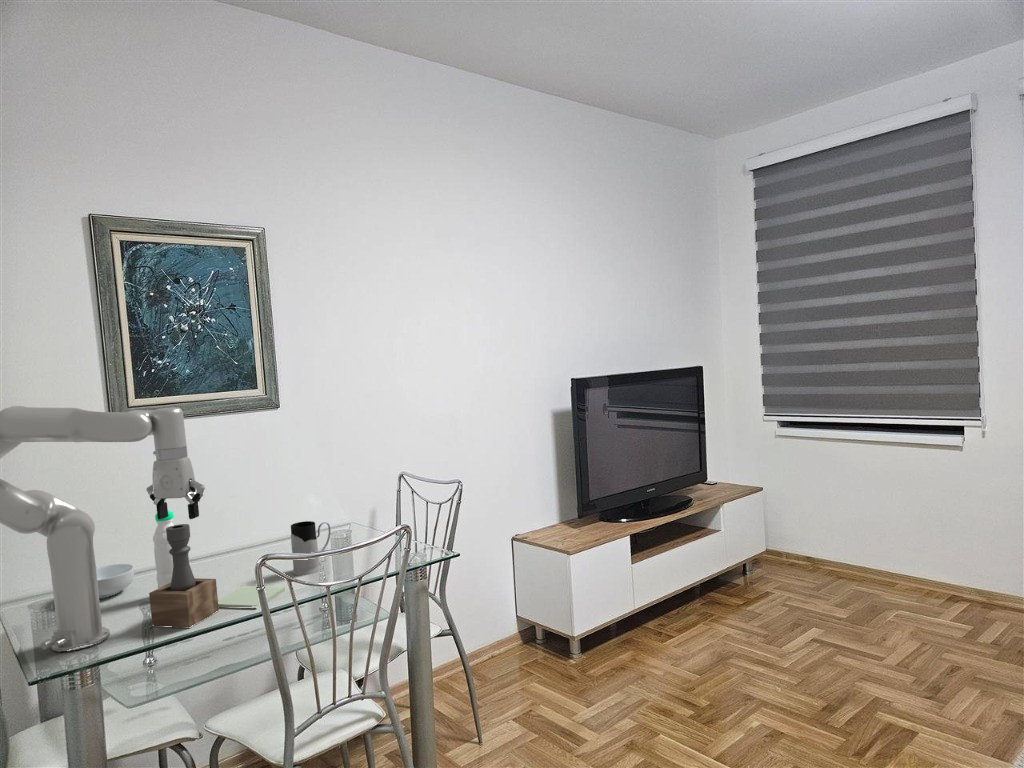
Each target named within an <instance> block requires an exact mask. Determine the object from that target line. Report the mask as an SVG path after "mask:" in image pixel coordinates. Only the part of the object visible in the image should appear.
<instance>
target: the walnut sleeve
mask: <svg viewBox="0 0 1024 768" xmlns="http://www.w3.org/2000/svg"><path fill="white" fill-rule="evenodd" d="M194 578H195V577H194ZM195 582H196V584H195V587H193V588H191V589H189V590H187V591H171V587H170V586H171V583H169V584H167V585H165V586H163V587H161V588H158V587H157V589H155V590H153V591H151V592H148V596H149V606H150V607H149V608H150V615H151V616H150V617H151V625H152V624H153V625H154V626H172V627H191V626H192V625H194V624H196V623H198V622H200V621H201V622H203V621H205V620H206V619H208V618H210V617H211V616H213V615H214V614H213V613H215V612H216V611H218V610H220V608H218V600H219V599H218V597H219V596H218V590H217V589H218V588H217V579H216V578H195ZM218 612H219V611H218ZM216 613H217V612H216ZM216 613H215V614H216ZM212 614H213V615H212ZM210 615H211V616H210ZM209 616H210V617H209ZM207 617H208V618H207ZM205 618H206V619H205ZM204 619H205V620H204ZM202 620H203V621H202ZM201 622H200V623H201ZM198 624H199V623H198ZM196 625H197V624H196ZM191 628H192V627H191Z"/></svg>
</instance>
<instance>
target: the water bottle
mask: <svg viewBox="0 0 1024 768" xmlns="http://www.w3.org/2000/svg"><path fill="white" fill-rule="evenodd" d="M154 517H155V519H154V520H155V521H156V523H157V526H156V528H155V532H154V534H153V536H152V541H153V544H154V545H153V553H154V563H155V568H156V583H157V589H158V588H161V587H163V586H165V585H167V584H169V583H171V579H172V573H173V557H172V555H171V554H170V553H169V550H170V549H171V548H172V547H171V546H170V545H169V543H168V541H167V535H166V528H167V527H170V526H174V525H175V524H174V523H173V520H174V512H173V511H171V510H168V517H166V518H163V519H160V520H159V519H158V516H157V512H156V513H155V515H154Z"/></svg>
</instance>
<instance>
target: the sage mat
mask: <svg viewBox="0 0 1024 768" xmlns="http://www.w3.org/2000/svg"><path fill="white" fill-rule="evenodd" d="M256 587H257V586H253V585H251V586H247V585H243V586H241V587H239V588H238V589H237V588H236V590H234V591H232V592H230V593H229V594H227V595H225V596H223V597H222V598H220V599H218V607H252V606H258V605H259V601H258V595H257V591H256ZM264 587H265V591H266V595H267V599H268V602H270V601H271V600H273V599H275V598H276V597H278V596H279V595H280V594H282V593H283V592H286V588H285V586H264ZM272 598H273V599H272ZM269 600H270V601H269Z"/></svg>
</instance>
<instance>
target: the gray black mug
mask: <svg viewBox="0 0 1024 768" xmlns="http://www.w3.org/2000/svg"><path fill="white" fill-rule="evenodd" d="M324 524H326V525H327V527H328V534H327V535H328V536H327V539H326V543H325V544H324V546H323V548H322V549H321V551H323V552H324V551H325V549H326V548H327V546H328V544H329V542H330V538H331V526H330V524H329V523H328V522H325V521H324V522H321V523H320V524H319V525H318V526H317V527H318V528H317V527H316V522H315V521H310V520H309V521H307V520H306V521H299V522H295V523H293V524H290V541H291V542H290V543H291V553H311V552H318V553H319V548H318V538H319V537H320V535H321V531H320V530H321V527H322V525H324ZM316 528H317V531H316ZM321 551H320V552H321ZM319 558H320V557H319ZM319 558H315V559H308V560H293V559H292V565H293V567H292V568H293V569H292V574H293V575H295V576H306V575H307V576H308V575H312V574H315V573H318V572H320V571H321V566H320V559H319Z"/></svg>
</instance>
